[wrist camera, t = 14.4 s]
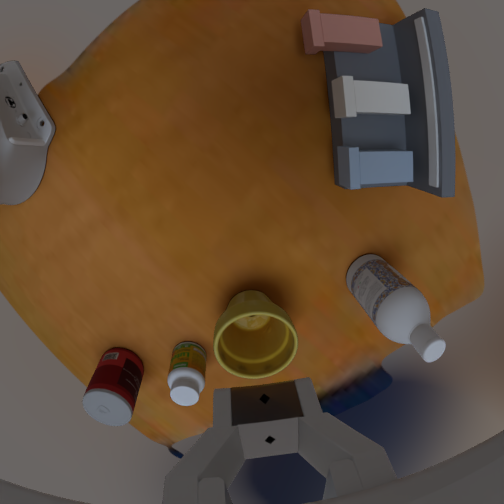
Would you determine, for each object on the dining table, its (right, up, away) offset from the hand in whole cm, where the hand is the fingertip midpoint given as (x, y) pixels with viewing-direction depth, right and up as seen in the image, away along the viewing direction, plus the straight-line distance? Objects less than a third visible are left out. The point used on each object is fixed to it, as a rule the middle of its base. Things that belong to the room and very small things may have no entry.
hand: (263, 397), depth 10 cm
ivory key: (+13, +23, +25) cm, 36 cm away
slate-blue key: (+14, +15, +27) cm, 34 cm away
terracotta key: (+10, +30, +22) cm, 38 cm away
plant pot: (-1, -4, +38) cm, 38 cm away
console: (+16, +25, +29) cm, 41 cm away
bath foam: (+17, +1, +37) cm, 41 cm away
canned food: (-22, -14, +40) cm, 48 cm away
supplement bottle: (-10, -12, +40) cm, 43 cm away
